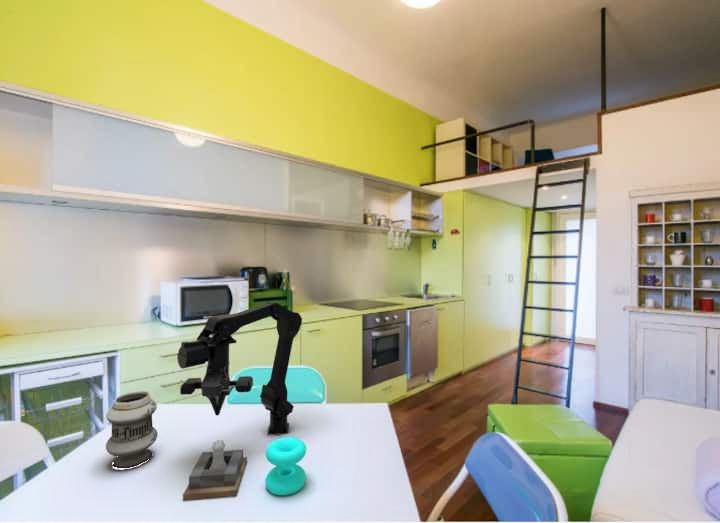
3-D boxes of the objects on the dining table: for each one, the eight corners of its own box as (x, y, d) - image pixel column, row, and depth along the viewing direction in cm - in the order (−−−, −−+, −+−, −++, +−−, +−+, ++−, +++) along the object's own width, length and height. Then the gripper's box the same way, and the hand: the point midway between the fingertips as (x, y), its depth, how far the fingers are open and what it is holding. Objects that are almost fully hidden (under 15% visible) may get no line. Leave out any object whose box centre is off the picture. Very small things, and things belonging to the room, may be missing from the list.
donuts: (302, 456, 81) (260, 455, 81) (301, 498, 81) (259, 497, 81) (309, 435, 91) (272, 434, 91) (309, 473, 91) (271, 471, 91)
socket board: (201, 465, 94) (201, 449, 94) (247, 462, 95) (247, 446, 95) (182, 500, 80) (183, 481, 80) (236, 496, 82) (236, 477, 82)
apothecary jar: (101, 460, 96) (102, 396, 96) (149, 443, 104) (150, 385, 104) (111, 479, 87) (112, 409, 87) (163, 459, 96) (164, 396, 96)
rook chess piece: (231, 471, 89) (231, 440, 89) (217, 481, 85) (217, 449, 85) (219, 466, 91) (219, 436, 91) (204, 476, 87) (205, 444, 87)
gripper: (172, 370, 89) (171, 430, 89) (246, 368, 92) (246, 426, 91) (187, 358, 100) (187, 411, 100) (253, 356, 103) (253, 408, 103)
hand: (217, 414), depth 98 cm, fingers closed
